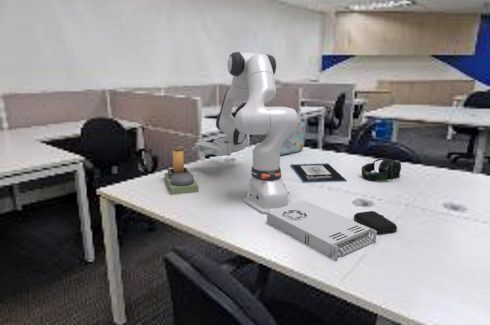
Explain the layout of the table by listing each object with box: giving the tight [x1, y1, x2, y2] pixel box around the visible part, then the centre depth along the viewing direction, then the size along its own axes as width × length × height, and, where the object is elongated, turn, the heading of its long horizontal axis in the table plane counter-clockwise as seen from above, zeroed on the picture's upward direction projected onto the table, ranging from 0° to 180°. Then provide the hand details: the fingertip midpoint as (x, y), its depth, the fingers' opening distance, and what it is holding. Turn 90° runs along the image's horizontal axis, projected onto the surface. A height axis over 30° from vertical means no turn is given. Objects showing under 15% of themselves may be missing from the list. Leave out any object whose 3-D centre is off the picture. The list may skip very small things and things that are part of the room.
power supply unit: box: [266, 200, 378, 261], centre depth 130 cm, size 19×33×5 cm, turn 36°
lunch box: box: [280, 120, 307, 156], centre depth 236 cm, size 27×10×21 cm, turn 130°
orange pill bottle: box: [171, 145, 185, 173], centre depth 180 cm, size 5×5×14 cm
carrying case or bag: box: [353, 210, 398, 235], centre depth 136 cm, size 11×3×15 cm
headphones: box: [361, 157, 402, 182], centre depth 189 cm, size 13×13×20 cm
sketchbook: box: [290, 162, 348, 184], centre depth 197 cm, size 22×30×2 cm
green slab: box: [164, 167, 199, 196], centre depth 177 cm, size 24×12×6 cm, turn 18°
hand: (198, 150), depth 187 cm, fingers open, 8 cm apart
